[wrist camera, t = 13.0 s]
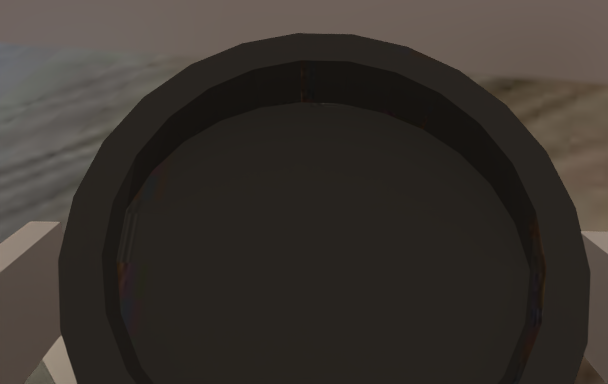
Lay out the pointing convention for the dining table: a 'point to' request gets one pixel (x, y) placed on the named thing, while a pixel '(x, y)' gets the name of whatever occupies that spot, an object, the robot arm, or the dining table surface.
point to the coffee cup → (322, 229)
